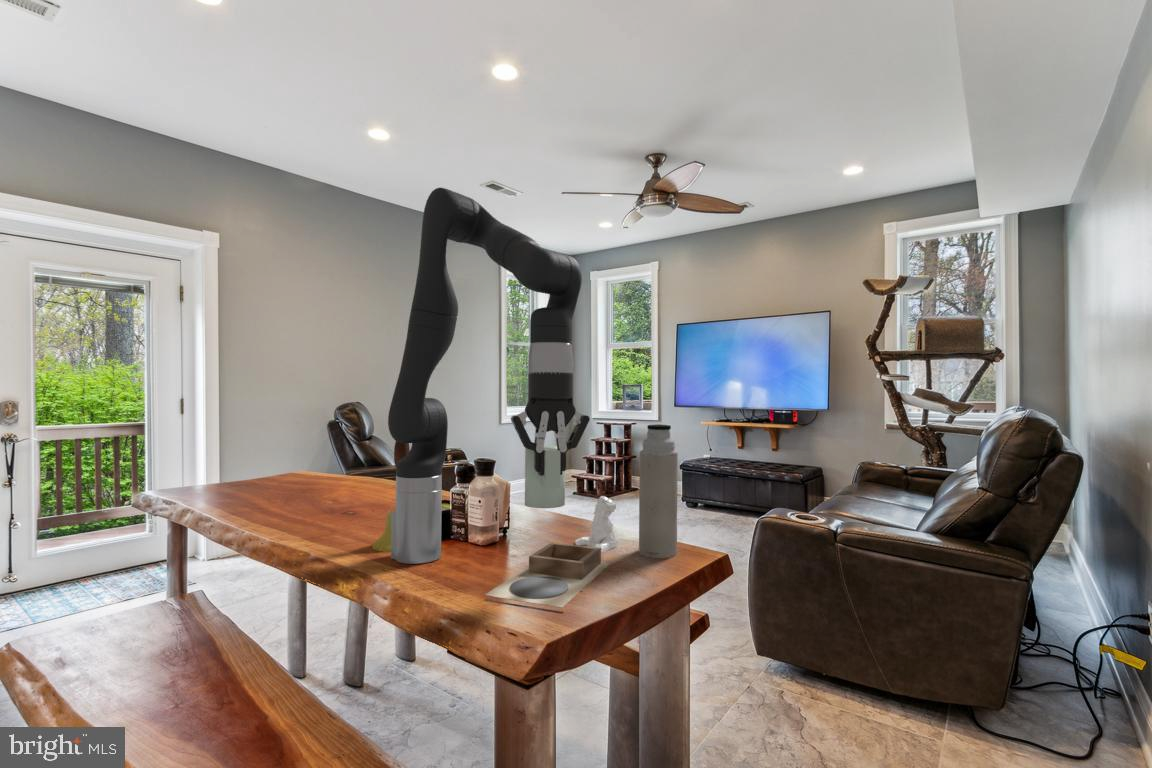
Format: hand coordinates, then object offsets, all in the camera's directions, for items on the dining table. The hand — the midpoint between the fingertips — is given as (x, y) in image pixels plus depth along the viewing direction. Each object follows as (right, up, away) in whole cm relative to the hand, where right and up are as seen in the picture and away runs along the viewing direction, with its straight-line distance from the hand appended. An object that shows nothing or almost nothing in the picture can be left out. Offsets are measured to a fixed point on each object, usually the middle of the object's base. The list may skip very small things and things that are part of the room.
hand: (549, 474), depth 95 cm
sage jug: (-1, -6, +3) cm, 7 cm away
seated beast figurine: (+10, -22, +30) cm, 38 cm away
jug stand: (0, -21, +8) cm, 23 cm away
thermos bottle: (+22, -22, +25) cm, 40 cm away
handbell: (-35, -21, +33) cm, 53 cm away
